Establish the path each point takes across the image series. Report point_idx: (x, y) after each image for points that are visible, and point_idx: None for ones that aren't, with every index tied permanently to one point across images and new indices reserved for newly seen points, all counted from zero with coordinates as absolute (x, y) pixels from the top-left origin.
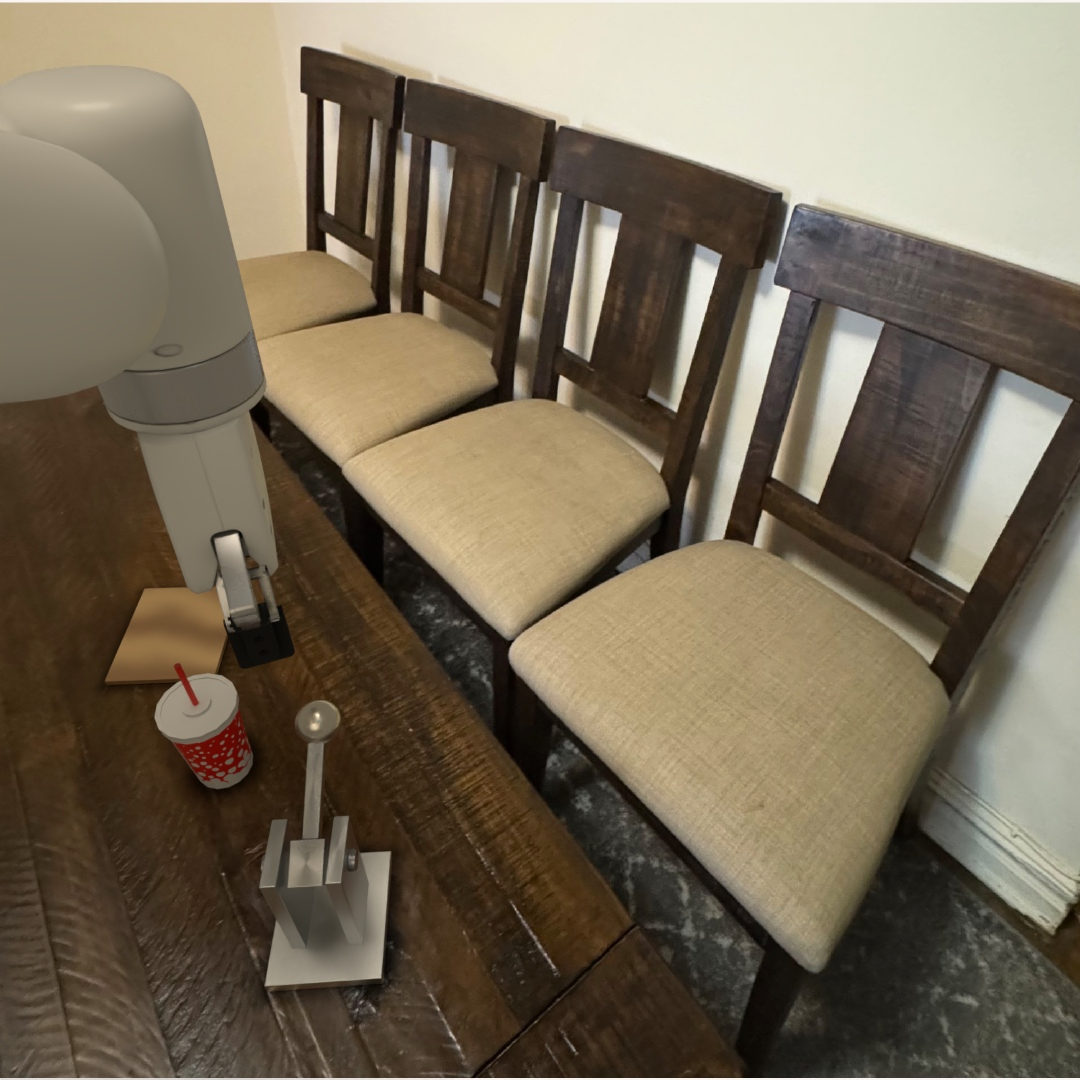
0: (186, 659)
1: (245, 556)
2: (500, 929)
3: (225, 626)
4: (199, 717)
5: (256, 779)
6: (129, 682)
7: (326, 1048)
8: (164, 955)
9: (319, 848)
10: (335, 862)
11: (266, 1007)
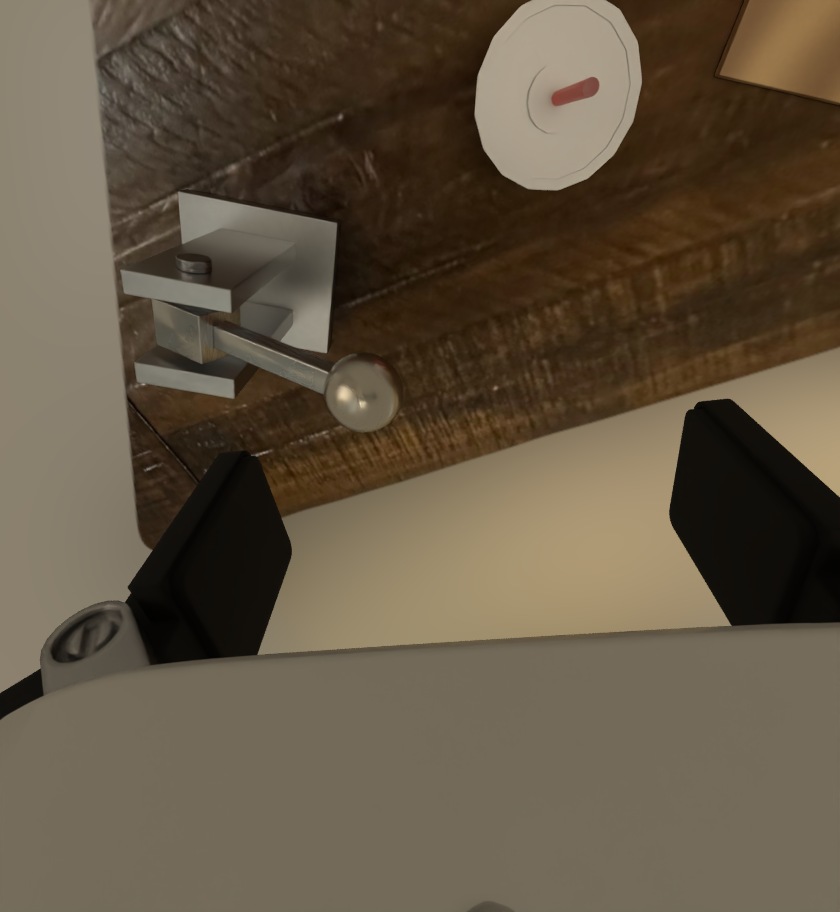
0: (798, 2)
1: (681, 459)
2: (245, 436)
3: (129, 589)
4: (523, 108)
5: (481, 166)
6: None
7: (133, 257)
8: (232, 25)
9: (192, 353)
10: (165, 377)
11: (170, 187)
